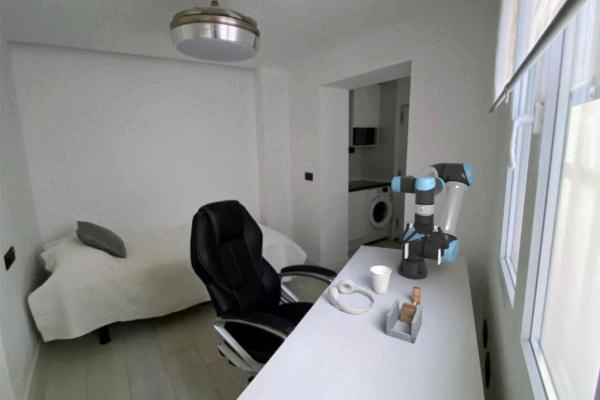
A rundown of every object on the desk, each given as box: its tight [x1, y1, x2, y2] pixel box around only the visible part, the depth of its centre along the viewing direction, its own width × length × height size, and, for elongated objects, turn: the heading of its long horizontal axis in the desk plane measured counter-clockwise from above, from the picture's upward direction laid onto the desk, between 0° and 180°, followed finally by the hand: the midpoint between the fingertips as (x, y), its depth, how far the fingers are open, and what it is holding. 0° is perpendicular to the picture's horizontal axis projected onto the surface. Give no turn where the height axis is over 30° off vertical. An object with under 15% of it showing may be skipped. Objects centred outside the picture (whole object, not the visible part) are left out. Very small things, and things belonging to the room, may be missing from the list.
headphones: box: [326, 278, 375, 315], centre depth 135 cm, size 7×18×20 cm
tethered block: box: [400, 286, 421, 326], centre depth 125 cm, size 19×5×7 cm, turn 148°
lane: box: [385, 299, 423, 344], centre depth 113 cm, size 13×10×8 cm
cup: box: [369, 265, 392, 295], centre depth 142 cm, size 10×10×11 cm
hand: (422, 260), depth 131 cm, fingers open, 13 cm apart
